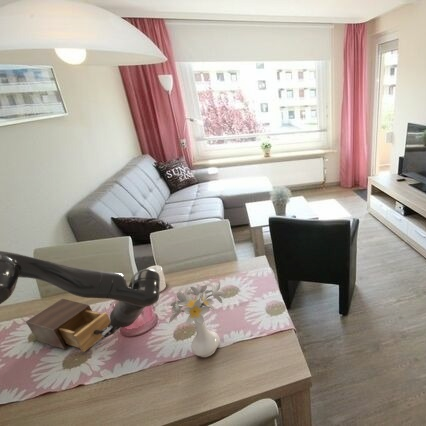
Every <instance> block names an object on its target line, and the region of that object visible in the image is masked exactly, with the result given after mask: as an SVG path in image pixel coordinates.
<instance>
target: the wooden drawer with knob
mask: <svg viewBox="0 0 426 426" xmlns="http://www.w3.org/2000/svg"><path fill="white" fill-rule="evenodd" d="M110 322H111V321H110V316H109V315H108V312H105V311H104V312H102V313H101V312H98V311H94V310H92V311H90V310H85V311H83V312H82V313H80V314H79V315H78V316H76V317H75V318H73V319H72V320H70V321H69V322H68V323H66V324H65V325H63V326H62V327H61V328H59V329H58V330H57V331H58V333H59V334H60V336H61V338H62V340H63V341H64V343H65V344H68V345H70V346H72V347H74V348H78V349H79V350H81V353H82V352H83V353H85V352H87V351H88V350H89V349H90V348H91V347H92V346H94V345H95V344H96V343H97V342H98V341H99V340H101V339H103V338H104V337H103V336H102V335H101V334H100V333H99V332H100V331H101V330H103V329H105V328H107V327H108V325H109V323H110Z"/></svg>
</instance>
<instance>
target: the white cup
mask: <svg viewBox="0 0 426 426" xmlns="http://www.w3.org/2000/svg"><path fill="white" fill-rule="evenodd" d="M146 269H152V270H155V271H156V272H157V273H158V274H159V276H160V290H159V293H161V292H162V291H164V290H166V288H167V284H166V278H165V274H164V270H163V267H162V266H161V265H151V266H149V267H147V268H146Z"/></svg>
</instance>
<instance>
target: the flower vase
mask: <svg viewBox="0 0 426 426" xmlns="http://www.w3.org/2000/svg"><path fill="white" fill-rule="evenodd" d="M207 288H208V286H207V285H202V286H201V287H199V288H197V287H195V286H190V287H189V289H188V290H186V292H185V294H184V293H183V292H182V291H178V292H177V294H176V296H177V297H176V298H175V301H173V302H172V303H170V307H171V313H173V314H172V315H171V317H170V318H169V321H168V323H169V324H170V323H172V322H173V321H174V320H175V318H177V316H179V315H180V314H181V313H184V314H186V315H188V317H187V318H186V320H185V324H186V325H187V326H189V325H191V324H192V323H193V322H194V325H195V330H196V334H195V336H194V337H193V338H192V341H191V344H190V349H191V350H190V351H191V353H193V354H194V355H195V356H197V357H200V358H208V357H210V356H212V355H213V354H214V353H215V352H216V351H217V348H218V347H219V345H220V341H221V340H220V336H219V334H218V333H217V332H215V331H214V330H210V329H208V327H207V325H206V321H205V318H204V314H207V313H208V312H209V311H210V309H212V310H214V311H216V307H214V306H213V304H214V302H215V301H214V300H213V299H216V301H218V302H219V303H220V304H223V299H222V297H225V296H226V292H225V291H224V290H221V282H220V281H218V282H217V283H216V285H215V284H213V283H212V284H211V289H207ZM210 293H211V294H210ZM207 294H208V295H207ZM210 297H213V299H211V298H210ZM183 307H184V309H183V310H182V308H183Z"/></svg>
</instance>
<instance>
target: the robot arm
mask: <svg viewBox="0 0 426 426" xmlns="http://www.w3.org/2000/svg"><path fill="white" fill-rule="evenodd" d="M19 278H22V279H23V278H25V279H33V280H37V281H42V282H45V283H47V284H50V285H51V286H54V287H57V288H58V289H60V290H61V291H64V292H66V293H68V294H71V295H73V296H76V297H80V298H87V299H109V300H113V301H117V303H116V304H115V306H114V307H113V309H112V310H111V312H110V314H109V319H110V321H111V322H110V323H109V325H108V327H107V328H105V329H103V330H101V331H100V332H99V333H100V334H101V335H102V336H103V337H102V338H104V339H105V338H108V337H110V336H111V335H113V334H115V333H116V332H117V331H118V330H120V329H121V328H126V327H129V326H131V325H132V324H134V322H136V321H137V319H138V318H139V317H140V316H141V315H142V313H143V311H144V309H146V308H147V307H150V306H153V305H155V304H156V303H157V302H158V301H159V299H160V292H159V290H160V276H159V274H158V273H157V272H156V271H155V270H152V269H147V268H144V269H141V270H139V271H137V272H136V273H135V274H134V275H132V277H131V279H130V281H129V284H128V283H127V280H126V276H125V274H124V273H122V272H118V271H117V272H116V271H107V270H97V269H88V268H82V267H76V266H70V265H67V264H62V263H58V262H54V261H49V260H47V259H41V258H37V257H32V256H29V255H24V254H19V253H15V252H9V251H4V250H0V305H2V304H3V303H4V302H6V301H7V300H8V299H9V298H10V297H11V296H12V295H13V293H14V291H15V289H16V288H17V287H16V286H17V283H18V280H19Z"/></svg>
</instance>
